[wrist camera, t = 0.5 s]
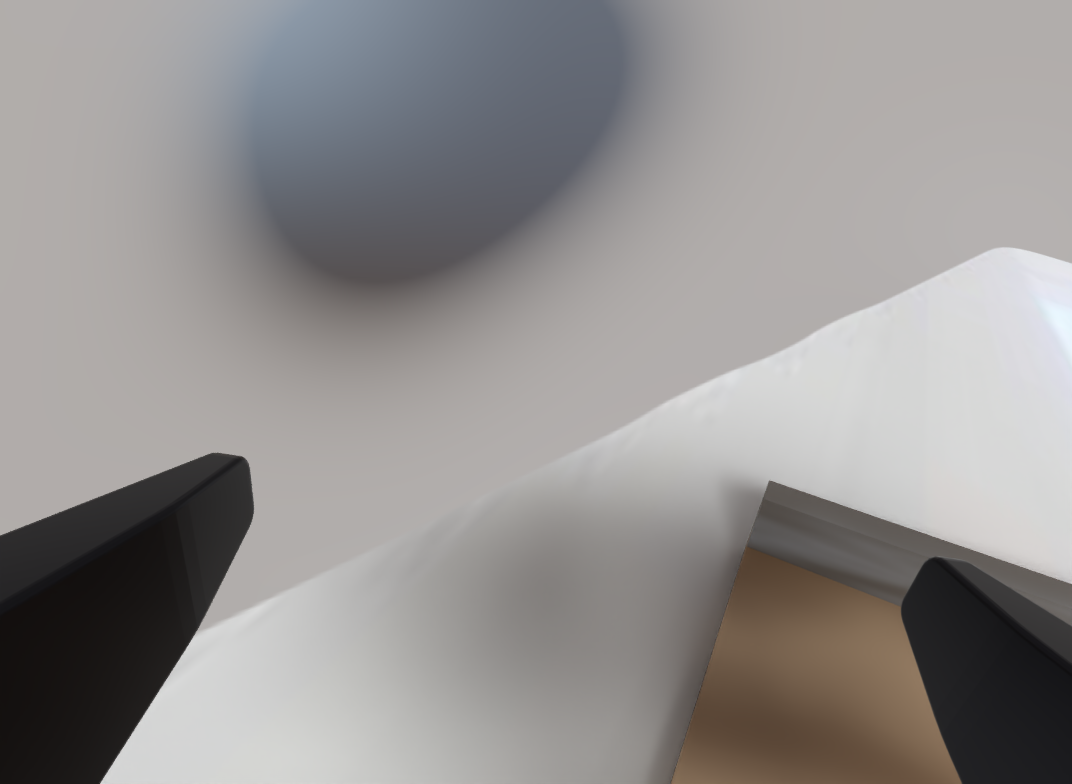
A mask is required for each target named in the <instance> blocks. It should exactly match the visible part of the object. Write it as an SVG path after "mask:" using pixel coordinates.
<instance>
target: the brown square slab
mask: <svg viewBox="0 0 1072 784" xmlns="http://www.w3.org/2000/svg"><path fill="white" fill-rule="evenodd" d="M934 556H940V557H947V558H954V559H961V560H964V561H967V562H969V563H971V564H973V565H974V566H976V567H978V568H979V569H981V570H982V571H984V572H986V573H987V574H989V575H990V576H992V577H994V578H995V579H997V580H999V581H1000V582H1002V583H1003V584H1005V585H1007V586H1008V587H1010V588H1011V589H1013V590H1015V591H1016V592H1018V593H1020V594H1021V595H1023V596H1024V597H1026V598H1028V599H1029V600H1031V601H1032V602H1034V603H1036V604H1037V605H1039V606H1041V607H1042V608H1044V609H1045V610H1047V611H1049V612H1050V613H1052V614H1053V615H1055V616H1057V617H1058V618H1060V619H1061V620H1063V621H1065V622H1066V623H1068V624H1070V625H1071V626H1072V584H1069V583H1066V582H1063V581H1060V580H1057V579H1054V578H1052V577H1049V576H1046V575H1043V574H1040V573H1037V572H1034V571H1031V570H1028V569H1025V568H1023V567H1020V566H1017V565H1014V564H1011V563H1008V562H1005V561H1002V560H999V559H996V558H993V557H991V556H988V555H985V554H982V553H979V552H976V551H973V550H970V549H967V548H964V547H961V546H959V545H956V544H953V543H950V542H947V541H944V540H941V539H938V538H935V537H932V536H930V535H927V534H924V533H921V532H918V531H915V530H912V529H909V528H906V527H903V526H900V525H898V524H895V523H892V522H889V521H886V520H883V519H880V518H877V517H874V516H871V515H868V514H866V513H863V512H860V511H857V510H854V509H851V508H848V507H845V506H842V505H839V504H836V503H834V502H831V501H828V500H825V499H822V498H819V497H816V496H813V495H810V494H807V493H805V492H802V491H799V490H796V489H793V488H790V487H787V486H784V485H781V484H778V483H775V482H773V481H770V480H769V483H768V486H767V489H766V491H765V494H764V497H763V500H762V503H761V505H760V508H759V511H758V514H757V517H756V519H755V522H754V525H753V528H752V531H751V533H750V536H749V539H748V542H747V544H746V547H745V550H744V553H743V557H742V560H741V563H740V566H739V569H738V572H737V575H736V579H735V582H734V585H733V588H732V591H731V594H730V598H729V601H728V604H727V607H726V610H725V613H724V617H723V620H722V623H721V626H720V629H719V632H718V635H717V639H716V642H715V645H714V648H713V651H712V654H711V658H710V661H709V664H708V667H707V670H706V673H705V677H704V680H703V683H702V686H701V689H700V692H699V696H698V699H697V702H696V705H695V708H694V711H693V714H692V718H691V721H690V724H689V727H688V730H687V733H686V737H685V740H684V743H683V746H682V749H681V752H680V756H679V759H678V762H677V765H676V768H675V771H674V774H673V778H672V781H671V784H962V783H961V781H960V778H959V776H958V774H957V772H956V769H955V767H954V765H953V763H952V760H951V758H950V756H949V753H948V751H947V748H946V746H945V744H944V741H943V739H942V736H941V734H940V731H939V728H938V725H937V723H936V720H935V717H934V714H933V711H932V708H931V705H930V702H929V699H928V696H927V693H926V690H925V687H924V684H923V681H922V678H921V675H920V672H919V669H918V666H917V663H916V660H915V657H914V654H913V651H912V648H911V646H910V643H909V640H908V637H907V634H906V631H905V628H904V625H903V622H902V618H901V604H902V600H903V598H904V596H905V594H906V592H907V591H908V589H909V587H910V585H911V584H912V582H913V580H914V578H915V577H916V575H917V573H918V571H919V570H920V568H921V566H922V564H923V563H924V562H925V561H926V560H927V559H928V558H930V557H934Z"/></svg>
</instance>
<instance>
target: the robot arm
mask: <svg viewBox="0 0 1072 784" xmlns="http://www.w3.org/2000/svg"><path fill="white" fill-rule="evenodd" d="M253 514H254V502H253V493H252V484H251V475H250V467H249V463H248V462H247V460H246V459H245V458H244V457H242V456H236V455H229V454H222V453H211V454H208V455H205V456H203V457H200V458H198V459H195V460H193V461H190V462H187V463H185V464H182V465H180V466H177V467H175V468H172V469H169V470H167V471H164V472H162V473H160V474H157V475H154V476H152V477H149V478H147V479H144V480H141V481H139V482H136V483H134V484H131V485H129V486H126V487H123V488H121V489H118V490H116V491H113V492H111V493H108V494H105V495H103V496H100V497H98V498H95V499H93V500H90V501H88V502H85V503H82V504H80V505H77V506H75V507H72V508H70V509H67V510H65V511H62V512H59V513H57V514H55V515H52V516H49V517H47V518H44V519H42V520H39V521H36V522H34V523H31V524H29V525H26V526H24V527H21V528H19V529H16V530H13V531H11V532H8V533H6V534H3V535H1V536H0V784H100V783H101V781H102V780H103V778H104V777H105V775H106V773H107V772H108V770H109V769H110V767H111V766H112V764H113V762H114V761H115V759H116V758H117V756H118V755H119V753H120V751H121V750H122V748H123V747H124V745H125V744H126V742H127V740H128V739H129V737H130V736H131V734H132V733H133V731H134V729H135V728H136V726H137V725H138V723H139V722H140V720H141V719H142V717H143V715H144V714H145V712H146V711H147V709H148V708H149V706H150V704H151V703H152V701H153V700H154V698H155V697H156V695H157V693H158V692H159V690H160V689H161V687H162V686H163V684H164V682H165V681H166V679H167V678H168V676H169V675H170V673H171V671H172V670H173V668H174V667H175V665H176V664H177V662H178V661H179V659H180V657H181V656H182V654H183V653H184V651H185V650H186V648H187V646H188V645H189V643H190V641H191V640H192V638H193V636H194V635H195V633H196V631H197V630H198V628H199V626H200V624H201V622H202V620H203V619H204V617H205V615H206V613H207V611H208V609H209V607H210V605H211V603H212V601H213V599H214V597H215V595H216V593H217V591H218V589H219V587H220V585H221V583H222V581H223V579H224V577H225V575H226V573H227V571H228V569H229V567H230V565H231V563H232V561H233V559H234V557H235V555H236V553H237V551H238V549H239V547H240V545H241V543H242V541H243V539H244V537H245V535H246V533H247V531H248V529H249V527H250V525H251V522H252V519H253ZM901 618H902V622H903V625H904V628H905V631H906V634H907V637H908V640H909V643H910V646H911V648H912V651H913V654H914V657H915V660H916V663H917V666H918V669H919V672H920V675H921V678H922V681H923V684H924V687H925V690H926V693H927V696H928V699H929V702H930V705H931V708H932V711H933V714H934V717H935V720H936V723H937V725H938V728H939V731H940V734H941V736H942V739H943V741H944V744H945V746H946V748H947V751H948V753H949V756H950V758H951V760H952V763H953V765H954V767H955V769H956V772H957V774H958V776H959V778H960V781H961V783H962V784H1072V626H1071V625H1070V624H1068V623H1066V622H1065V621H1063V620H1061V619H1060V618H1058V617H1057V616H1055V615H1053V614H1052V613H1050V612H1049V611H1047V610H1045V609H1044V608H1042V607H1041V606H1039V605H1037V604H1036V603H1034V602H1032V601H1031V600H1029V599H1028V598H1026V597H1024V596H1023V595H1021V594H1020V593H1018V592H1016V591H1015V590H1013V589H1011V588H1010V587H1008V586H1007V585H1005V584H1003V583H1002V582H1000V581H999V580H997V579H995V578H994V577H992V576H990V575H989V574H987V573H986V572H984V571H982V570H981V569H979V568H978V567H976V566H974V565H973V564H971V563H969V562H967V561H964V560H961V559H954V558H947V557H940V556H934V557H930V558H928V559H927V560H926V561H925V562H924V563H923V564H922V566H921V568H920V570H919V571H918V573H917V575H916V577H915V578H914V580H913V582H912V584H911V585H910V587H909V589H908V591H907V592H906V594H905V596H904V598H903V600H902V604H901Z"/></svg>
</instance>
